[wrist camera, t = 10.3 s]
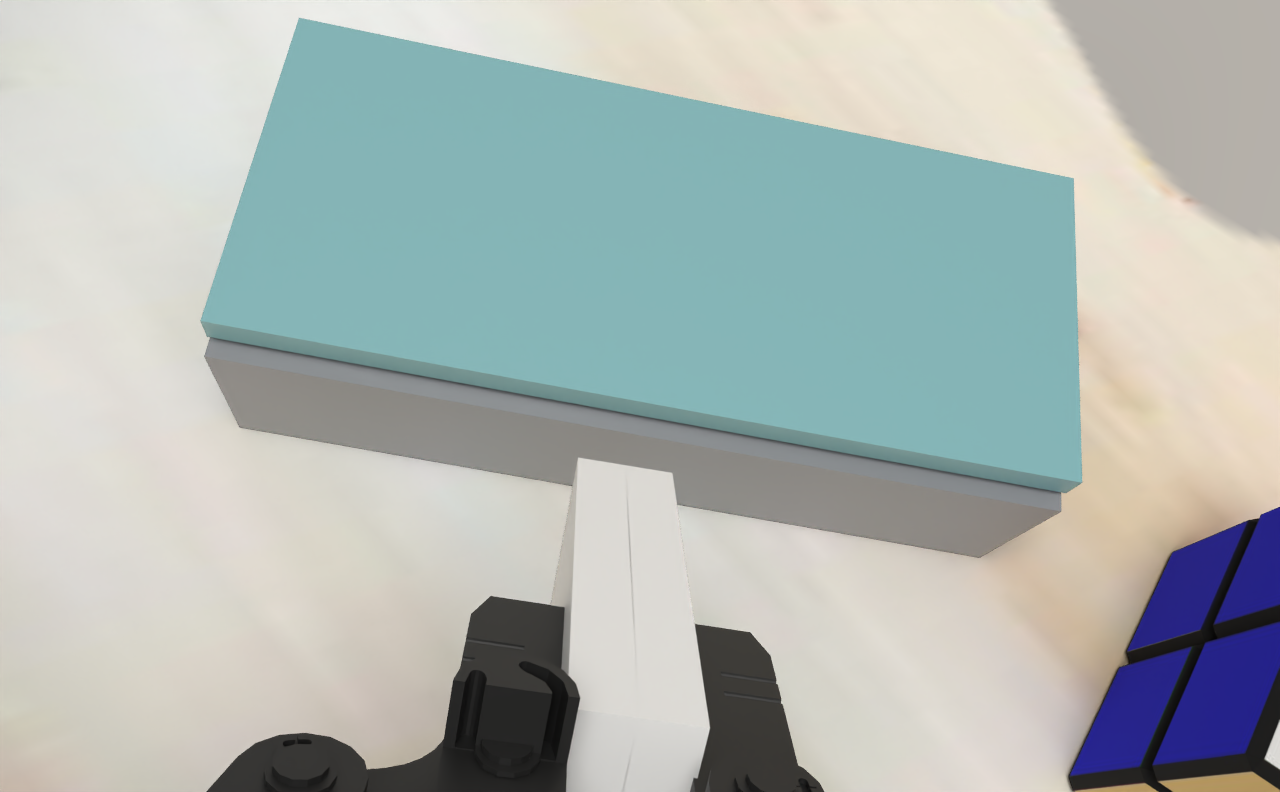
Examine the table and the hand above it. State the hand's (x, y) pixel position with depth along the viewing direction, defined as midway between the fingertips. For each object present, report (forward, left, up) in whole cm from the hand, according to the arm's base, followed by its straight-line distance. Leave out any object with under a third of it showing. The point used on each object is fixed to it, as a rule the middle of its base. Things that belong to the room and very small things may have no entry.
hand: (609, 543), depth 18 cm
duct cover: (-7, +11, -14) cm, 20 cm away
